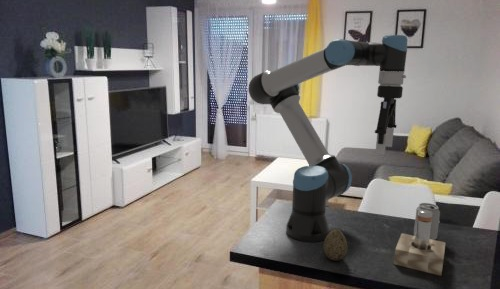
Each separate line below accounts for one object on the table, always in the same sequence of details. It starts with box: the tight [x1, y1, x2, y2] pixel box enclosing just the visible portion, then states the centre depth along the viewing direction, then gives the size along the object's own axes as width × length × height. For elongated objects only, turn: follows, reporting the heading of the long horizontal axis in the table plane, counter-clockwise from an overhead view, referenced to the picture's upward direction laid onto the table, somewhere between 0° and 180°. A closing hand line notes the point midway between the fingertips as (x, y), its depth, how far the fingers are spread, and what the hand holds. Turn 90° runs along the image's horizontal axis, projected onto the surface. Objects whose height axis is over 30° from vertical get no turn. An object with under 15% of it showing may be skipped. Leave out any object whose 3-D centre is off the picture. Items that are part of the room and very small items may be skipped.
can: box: [413, 202, 441, 240], centre depth 136 cm, size 8×8×12 cm
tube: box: [414, 210, 432, 250], centre depth 119 cm, size 4×4×16 cm
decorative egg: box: [323, 228, 348, 262], centre depth 119 cm, size 7×7×10 cm
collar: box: [393, 232, 446, 277], centre depth 120 cm, size 13×13×5 cm
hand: (384, 150), depth 129 cm, fingers open, 13 cm apart
